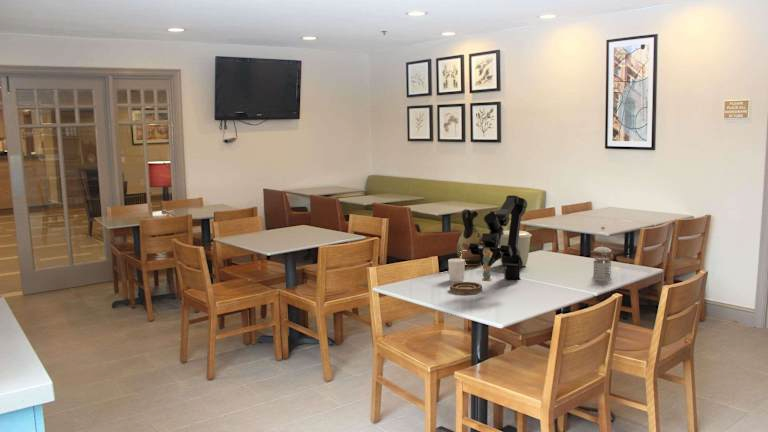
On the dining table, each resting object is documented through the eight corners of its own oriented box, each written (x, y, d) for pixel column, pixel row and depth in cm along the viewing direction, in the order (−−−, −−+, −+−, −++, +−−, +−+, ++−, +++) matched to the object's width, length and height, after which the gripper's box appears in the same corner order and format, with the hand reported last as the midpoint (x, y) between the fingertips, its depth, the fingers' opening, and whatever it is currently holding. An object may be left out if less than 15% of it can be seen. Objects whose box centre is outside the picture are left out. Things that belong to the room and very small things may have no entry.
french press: (589, 279, 316) (590, 227, 312) (593, 274, 326) (594, 224, 323) (610, 281, 311) (612, 228, 308) (615, 276, 321) (616, 225, 318)
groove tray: (478, 286, 308) (478, 281, 307) (485, 293, 293) (485, 288, 293) (447, 287, 307) (447, 282, 307) (452, 294, 293) (452, 289, 293)
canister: (494, 268, 346) (494, 228, 343) (498, 261, 363) (498, 223, 360) (530, 269, 340) (530, 228, 338) (532, 262, 358) (533, 223, 355)
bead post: (490, 278, 294) (490, 247, 292) (492, 281, 290) (492, 248, 288) (481, 279, 294) (481, 247, 292) (482, 281, 290) (482, 248, 288)
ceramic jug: (466, 260, 368) (466, 206, 364) (491, 263, 358) (491, 208, 354) (449, 265, 355) (448, 209, 351) (474, 269, 345) (474, 211, 341)
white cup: (464, 282, 316) (464, 261, 314) (447, 282, 317) (447, 261, 316) (465, 278, 323) (465, 258, 322) (449, 278, 325) (449, 258, 324)
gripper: (469, 224, 297) (460, 253, 289) (510, 227, 287) (501, 256, 279) (476, 239, 304) (467, 268, 296) (516, 242, 295) (507, 271, 287)
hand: (485, 265), depth 290 cm, fingers closed on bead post, 3 cm apart
